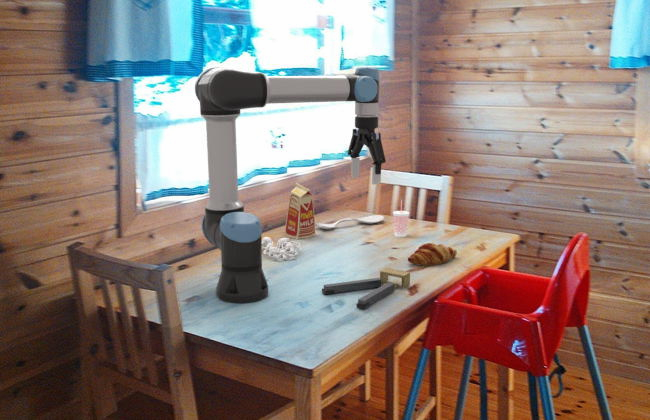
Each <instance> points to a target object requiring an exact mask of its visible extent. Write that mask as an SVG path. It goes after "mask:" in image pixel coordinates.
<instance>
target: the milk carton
mask: <svg viewBox="0 0 650 420" xmlns="http://www.w3.org/2000/svg"><path fill="white" fill-rule="evenodd" d="M310 191H311V190H310V189H309V188H307V187H304V186H302V185H301V184H299V183H298V182H295V187H294V188H293V189H292V190H291V191H290V196H289V201H288V207H287V212H286V213H287V214H286V221H285V225H284V233H283V235H284V236H285V237H287V238H288V237H289V238H291V239H297V240H299V239H307V238H311V237H313V236H315V235H316V226H315V222H316V220H315V209H314V200H313V195H312V193H311V192H310Z"/></svg>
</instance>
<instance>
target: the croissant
mask: <svg viewBox="0 0 650 420" xmlns="http://www.w3.org/2000/svg"><path fill="white" fill-rule="evenodd" d="M457 254H458V251H457V249H454V248H452V247H450V246H445V245H443V244H441V243H440V244H436V243H433V242H427V243H423V244H422V245H420V246H419V247H418V248H417V249H416V250H415V251H414V253H412V254H411V255H410V256H408V258H407V261H408V262H409V263H411V264H412V265H417V266H424V267H426V266H435V265H441V264H444V263H446V262H448V261H450V260H451V259H452V258H453V259H454V258H455V257H456V256H457Z"/></svg>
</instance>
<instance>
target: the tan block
mask: <svg viewBox="0 0 650 420" xmlns="http://www.w3.org/2000/svg"><path fill="white" fill-rule="evenodd" d="M389 276H391V277H395V278H401V288H402V289H405V288H406V287H408V286H410V285H411V284H410V283H411V271H406V270H405V271H404V270H399V269H394V268H389V267H385V268H383V269H381V270H379V278H380V279H381V280H382V284H384V283H386V282H389Z"/></svg>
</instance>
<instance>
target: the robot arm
mask: <svg viewBox="0 0 650 420" xmlns="http://www.w3.org/2000/svg"><path fill="white" fill-rule="evenodd" d="M379 89H380V71H379V69H378V68H377V67H376V66H360V67H359V66H358V67H356V68H355V71H354V73H331V74H329V73H327V74H324V75H297V76H296V75H292V76H291V75H289V76H288V75H287V76H285V75H284V76H283V75H280V76H278V75H276V76H275V75H274V76H273V75H272V76H271V75H269V76H267V75H265V74H264V73H263V72H252V71H251V72H249V71H243V70H239V69H234V68H228V67H227V68H226V67H222V66H221V67H220V66H215V67H210V68H208V69H205V70H203V71H202V72H201V73H200V74H199V75H198V77H197V78H196V81H195V84H194V92H195V97H196V98H197V100H198V101H199V106H200V107H199V110H200V111H199V113H200V116H201V117H202V118H203V119H204V120H205V124H206V125H205V127H206V148H207V169H208V171H207V173H208V192H209V200H208V202H207V203H205V205H204V213H205V214H204V215H203V217H202V220H201V230H202V234H203V235H204V237H205V239H206V240H207V242H209V243H210V244H211V245H212V246H213V247H216V248H217V249H218V250H220V255H221V257H220V258H221V260H220V261H221V272H220V274H219V278H218V281H217V284H216V290H215V291H216V292H215V293H216V295H215V296H216V298H217V299H218V300H220V301H223V302H226V303H233V304H234V303H236V304H237V303H238V304H241V303H242V304H243V303H244V304H246V303H253V302H258V301H261V300H263V299H265V298H267V297H268V295H269V284H268V282H267V279H266V278H267V277H266V276H265V273H264V270H263V265H262V264H263V259H262V258H263V254H262V253H263V252H262V251H263V250H262V248H263V245H262V239H263V238H262V235H263V229H262V228H263V227H262V222H261V219H260V218H259V216H257V215H256V214H254V213H248V212H245V207H244V206H245V205H244V203H243V202H242V201H241V200H240V199H239V181H238V180H239V179H238V158H237V156H238V153H237V127H236V126H237V125H236V120H237V119H238V118H239V116H241V110H247V109H256V108H258V109H259V108H265V106H266V105H267V104H268V105H269V104H296V103H301V104H302V103H328V102H329V103H331V102H333V103H334V102H337V103H338V102H354V114H355V117H354V127H355V128H352V136H351V138H350V143H349V145H348V146H349V147H348V150H347V155H348V156H349V157H350V158H351V159H350V160H351V162H350V163H351V165H350V166H351V169H350V170H351V174H350V175H351V178H352V179H353V178H354V179H355V178H360V168H361V167H360V163H361V162H360V159H361V156H360V153H361V151H362V149H363V147H364V146H366V148H368V150H369V154H370V156H371V158H372V169H371V171H372V172H371V173H372V174H371V176H372V177H371V185H374V186H375V185H381V181H382V178H381V176H382V175H381V174H382V164H385V163H386V156H385V151H384V148H383V147H384V146H383V143H382V138H381V137H382V134H381V132H376V129H377V128H378V127H379V117H378V115H379V107H380V106H379V100H380V98H379V97H380V96H379V95H380V92H379V91H380V90H379Z"/></svg>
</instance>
